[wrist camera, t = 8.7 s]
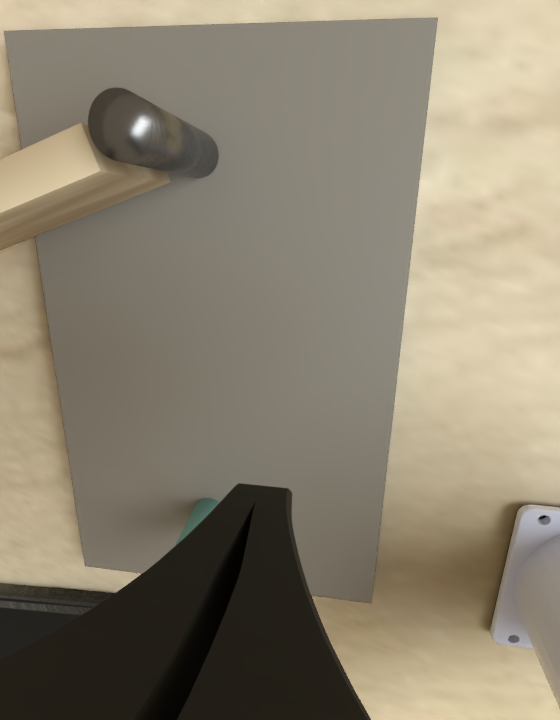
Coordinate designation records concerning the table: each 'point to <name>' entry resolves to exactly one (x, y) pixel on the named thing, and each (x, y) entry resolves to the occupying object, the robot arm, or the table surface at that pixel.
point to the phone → (39, 612)
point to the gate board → (237, 280)
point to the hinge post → (149, 135)
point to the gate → (64, 184)
